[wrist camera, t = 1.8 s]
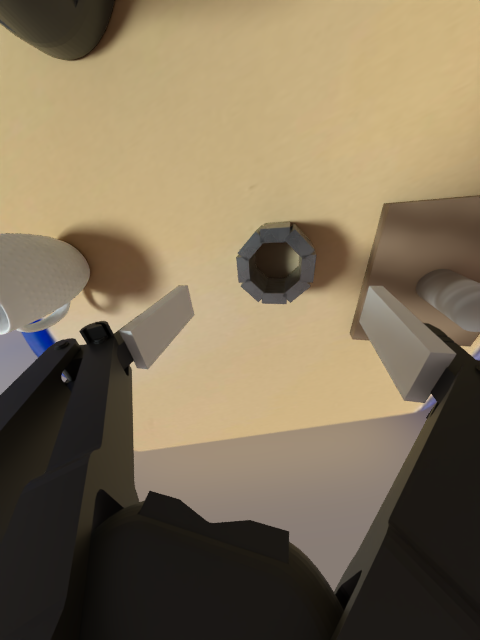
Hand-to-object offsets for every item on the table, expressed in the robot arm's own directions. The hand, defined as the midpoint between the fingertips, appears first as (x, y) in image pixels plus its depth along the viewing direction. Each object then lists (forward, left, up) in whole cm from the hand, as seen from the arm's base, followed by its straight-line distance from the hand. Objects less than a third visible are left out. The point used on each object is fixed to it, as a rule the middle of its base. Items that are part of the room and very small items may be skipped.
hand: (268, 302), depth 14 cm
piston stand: (+3, +17, -12) cm, 21 cm away
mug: (0, -34, -12) cm, 36 cm away
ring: (0, 0, -12) cm, 12 cm away
